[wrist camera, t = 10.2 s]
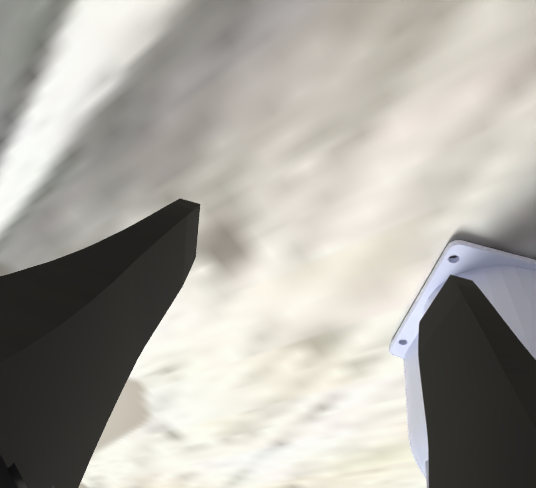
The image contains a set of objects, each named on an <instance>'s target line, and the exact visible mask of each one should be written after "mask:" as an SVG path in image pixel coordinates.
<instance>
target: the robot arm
mask: <svg viewBox="0 0 536 488" xmlns="http://www.w3.org/2000/svg"><path fill="white" fill-rule="evenodd" d="M199 212H200V204H198V203H194V202H190V201H187V200H183V199H178V200H176V201H175V202H173V203H171V204H169V205H167V206H166V207H164V208H162V209H160V210H159V211H157V212H155V213H153V214H152V215H150V216H148V217H146V218H145V219H143V220H141V221H139V222H137V223H136V224H134V225H132V226H130V227H128V228H126V229H124V230H123V231H120V232H118V233H116V234H114V235H112V236H110V237H108V238H106V239H104V240H102V241H100V242H98V243H96V244H93V245H91V246H89V247H87V248H84V249H82V250H79V251H77V252H74V253H72V254H69V255H66V256H64V257H61V258H58V259H56V260H53V261H50V262H47V263H44V264H41V265H37V266H34V267H31V268H28V269H24V270H21V271H18V272H15V273H11V274H8V275H4V276H0V488H78V487H79V485H80V482H81V480H82V478H83V475H84V473H85V471H86V468H87V466H88V464H89V461H90V459H91V457H92V454H93V452H94V450H95V448H96V446H97V443H98V441H99V439H100V437H101V434H102V432H103V430H104V428H105V426H106V423H107V421H108V419H109V417H110V415H111V412H112V411H113V408H114V406H115V404H116V402H117V400H118V398H119V396H120V394H121V391H122V389H123V387H124V385H125V383H126V381H127V379H128V377H129V375H130V373H131V371H132V369H133V367H134V365H135V363H136V361H137V359H138V357H139V356H140V354H141V352H142V350H143V349H144V347H145V345H146V344H147V342H148V340H149V339H150V337H151V336H152V334H153V332H154V331H155V329H156V328H157V326H158V325H159V323H160V321H161V320H162V318H163V317H164V315H165V313H166V312H167V310H168V309H169V307H170V306H171V304H172V302H173V301H174V299H175V298H176V296H177V294H178V293H179V291H180V289H181V288H182V286H183V284H184V282H185V280H186V278H187V276H188V273H189V271H190V269H191V267H192V264H193V262H194V260H195V257H196V246H197V235H198V224H199ZM452 255H456V256H457V257H456V258H449V257H450V256H452ZM402 339H403V340H402ZM389 352H390V354H391V355H393V356H396V357H400V358H403V359H404V373H405V389H406V405H407V421H408V436H409V443H410V447H411V451H412V454H413V456H414V459H415V461H416V463H417V465H418V466H419V468H420V470H421V472H422V473H423V475H424V476H425V478H426V481H427V488H536V260H534V259H531V258H527V257H523V256H519V255H515V254H512V253H508V252H504V251H500V250H496V249H493V248H489V247H485V246H481V245H477V244H473V243H470V242H466V241H462V240H455V241H452V242H450V243H449V244H448V245H447V247H446V249H445V250H444V252H443V254H442V256H441V257H440V259H439V261H438V263H437V264H436V266H435V268H434V269H433V271H432V273H431V275H430V276H429V278H428V280H427V281H426V283H425V285H424V287H423V288H422V290H421V292H420V294H419V295H418V297H417V299H416V300H415V302H414V304H413V306H412V307H411V309H410V311H409V312H408V314H407V316H406V318H405V319H404V321H403V323H402V325H401V326H400V328H399V330H398V331H397V333H396V335H395V337H394V338H393V340H392V342H391V344H390V345H389Z"/></svg>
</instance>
